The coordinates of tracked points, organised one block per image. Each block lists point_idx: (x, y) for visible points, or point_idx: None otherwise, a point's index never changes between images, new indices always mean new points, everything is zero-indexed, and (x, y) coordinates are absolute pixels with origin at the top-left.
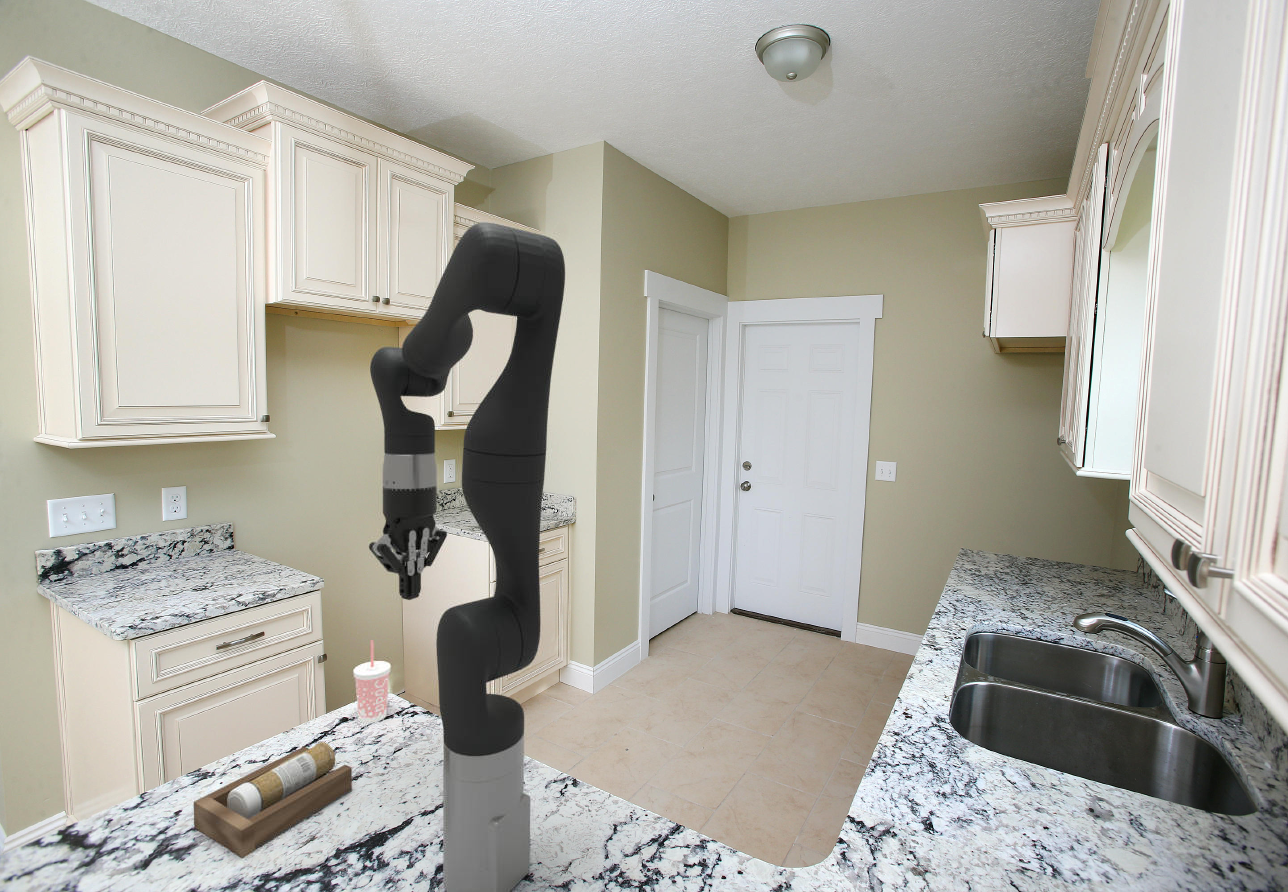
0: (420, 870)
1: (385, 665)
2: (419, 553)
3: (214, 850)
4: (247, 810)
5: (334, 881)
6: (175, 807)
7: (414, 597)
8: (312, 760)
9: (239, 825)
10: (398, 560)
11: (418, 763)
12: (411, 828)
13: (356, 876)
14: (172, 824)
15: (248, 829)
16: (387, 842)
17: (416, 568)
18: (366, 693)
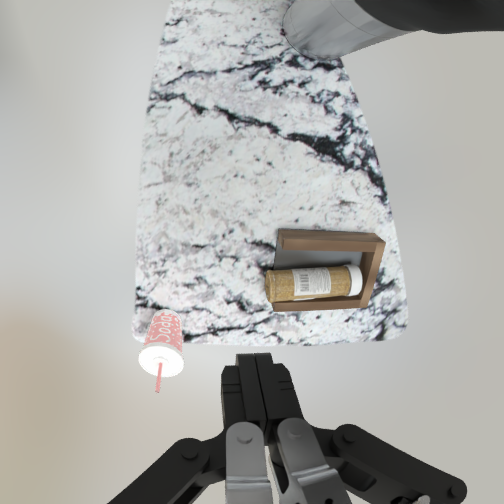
0: (337, 82)
1: (144, 356)
2: (270, 499)
3: None
4: (358, 267)
5: (372, 143)
6: (343, 326)
7: (257, 353)
8: (296, 280)
9: (381, 250)
10: (376, 468)
11: (206, 205)
12: (299, 126)
13: (362, 130)
14: (358, 310)
15: (380, 241)
16: (323, 134)
17: (262, 442)
18: (178, 338)
